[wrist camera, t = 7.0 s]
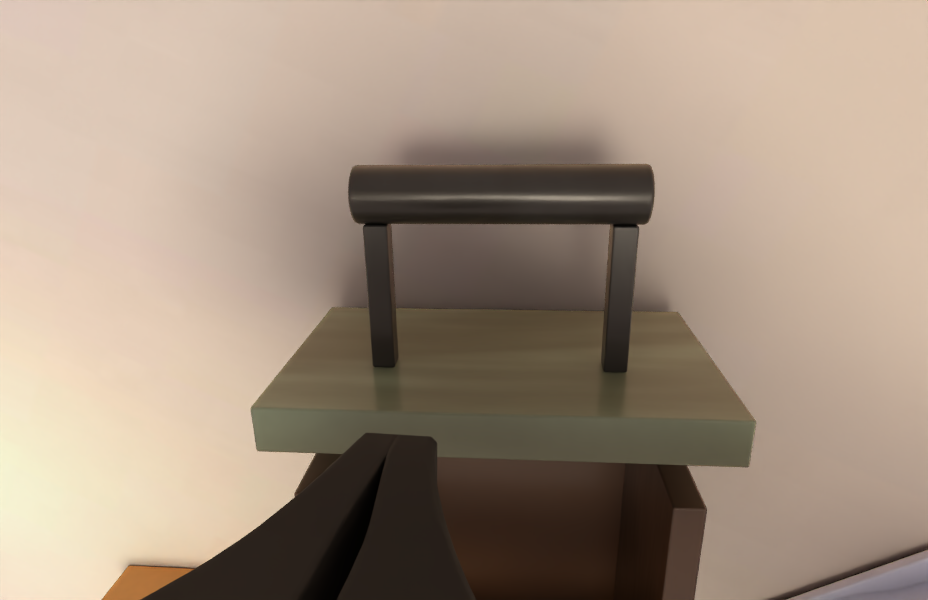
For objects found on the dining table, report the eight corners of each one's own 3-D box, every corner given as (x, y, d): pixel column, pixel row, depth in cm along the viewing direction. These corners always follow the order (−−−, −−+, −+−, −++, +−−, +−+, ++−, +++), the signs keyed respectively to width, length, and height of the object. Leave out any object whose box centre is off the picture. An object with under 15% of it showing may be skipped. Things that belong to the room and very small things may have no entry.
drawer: (316, 148, 19) (215, 181, 12) (696, 145, 18) (798, 180, 12) (358, 595, 25) (304, 775, 18) (645, 610, 24) (693, 804, 17)
